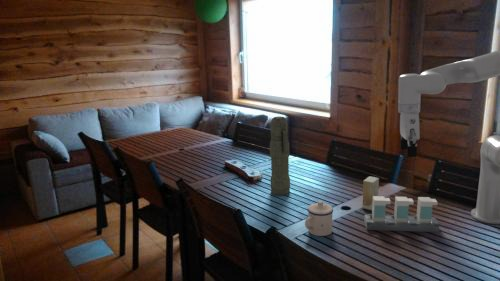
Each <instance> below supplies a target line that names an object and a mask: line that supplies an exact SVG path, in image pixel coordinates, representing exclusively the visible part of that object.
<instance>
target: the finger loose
mask: <svg viewBox="0 0 500 281" xmlns="http://www.w3.org/2000/svg"><path fill="white" fill-rule="evenodd" d="M391 204H392V203H391V199H390V197H385V196H384V195H383V196H382V195H381V196H380V195H378V196H373V201H372V210H371V214H372V220H373V222H385V215H386V209H387V208H386V207H387V206H386V205H391Z"/></svg>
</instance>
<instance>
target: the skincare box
mask: <svg viewBox="0 0 500 281" xmlns="http://www.w3.org/2000/svg"><path fill="white" fill-rule="evenodd" d="M362 182H363V183H362V209H365V210H369V211H372V201H373V196H379V187H380V186H379V183H380V178H379V177H375V176H367V177H366V178H365V179H363V181H362Z"/></svg>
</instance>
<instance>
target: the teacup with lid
mask: <svg viewBox="0 0 500 281" xmlns="http://www.w3.org/2000/svg"><path fill="white" fill-rule="evenodd" d="M307 212H308V216H307V218H305V222H304V226H305V228H306V229H307V230H308V232H309V234H311V235H313V236H316V237H325V236H326V237H327V236H328V235H329V236H330V235H331V234H332V232H333V213H334V209H333V206H331V205H330V204H327V203H324V201H323V200H318V201H317V202H316V203H312V204H309V206H308V208H307Z"/></svg>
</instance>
